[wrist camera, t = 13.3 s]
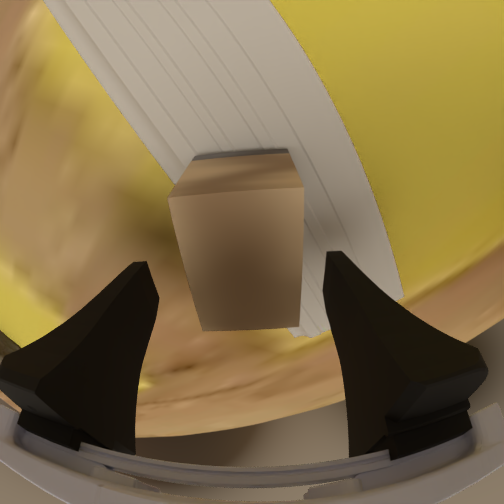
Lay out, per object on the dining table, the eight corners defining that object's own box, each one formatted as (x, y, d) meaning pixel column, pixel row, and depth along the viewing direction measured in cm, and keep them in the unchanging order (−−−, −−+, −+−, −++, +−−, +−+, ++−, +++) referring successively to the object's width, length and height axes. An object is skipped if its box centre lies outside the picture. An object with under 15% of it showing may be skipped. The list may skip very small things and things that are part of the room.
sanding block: (287, 148, 12) (304, 187, 8) (289, 261, 15) (299, 327, 11) (194, 155, 12) (167, 198, 8) (213, 265, 15) (202, 331, 12)
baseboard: (276, 334, 22) (397, 282, 19) (278, 365, 19) (412, 310, 16) (25, 2, 7) (160, -103, 4) (-4, 1, 4) (145, -124, 2)
